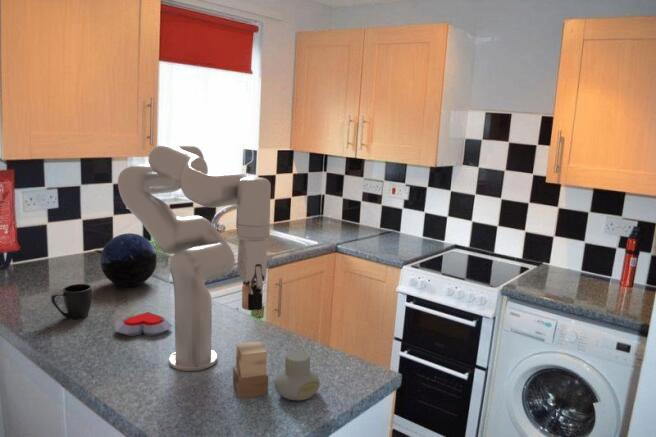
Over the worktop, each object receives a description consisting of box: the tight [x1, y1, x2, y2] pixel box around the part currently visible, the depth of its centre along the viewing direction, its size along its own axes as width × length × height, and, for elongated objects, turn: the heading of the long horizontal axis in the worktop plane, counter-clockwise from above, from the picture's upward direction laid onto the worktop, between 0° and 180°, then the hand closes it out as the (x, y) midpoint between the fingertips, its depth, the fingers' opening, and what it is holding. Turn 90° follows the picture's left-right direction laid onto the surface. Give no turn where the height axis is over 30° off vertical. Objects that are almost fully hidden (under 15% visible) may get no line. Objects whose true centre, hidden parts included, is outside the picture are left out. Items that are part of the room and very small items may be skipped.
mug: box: [50, 283, 93, 320], centre depth 168 cm, size 8×12×10 cm
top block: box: [235, 341, 268, 378], centre depth 129 cm, size 6×6×6 cm
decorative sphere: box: [99, 232, 158, 288], centre depth 200 cm, size 20×20×20 cm
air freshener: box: [273, 351, 320, 401], centre depth 128 cm, size 11×8×10 cm
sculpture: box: [114, 311, 173, 337], centre depth 163 cm, size 17×4×15 cm
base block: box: [232, 365, 269, 399], centre depth 130 cm, size 7×7×5 cm
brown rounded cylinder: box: [241, 283, 264, 311], centre depth 126 cm, size 5×5×5 cm
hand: (252, 304), depth 126 cm, fingers closed on brown rounded cylinder, 4 cm apart
